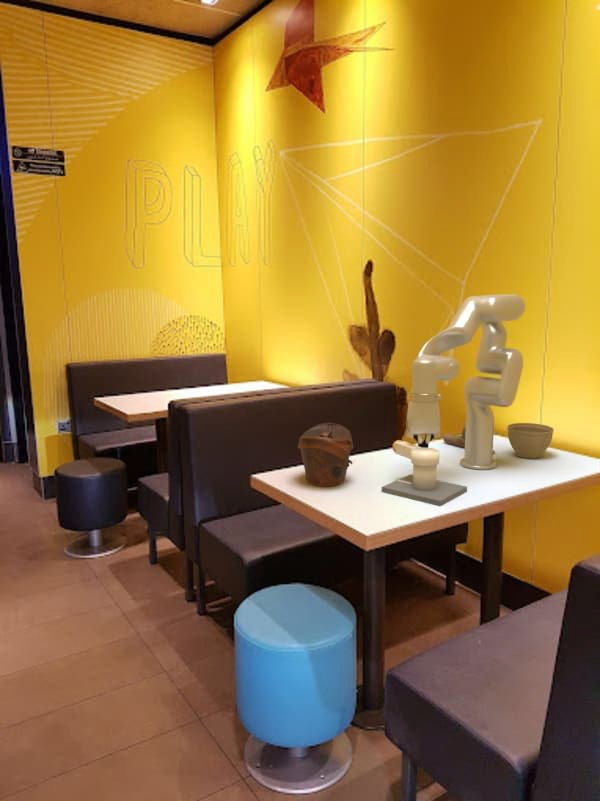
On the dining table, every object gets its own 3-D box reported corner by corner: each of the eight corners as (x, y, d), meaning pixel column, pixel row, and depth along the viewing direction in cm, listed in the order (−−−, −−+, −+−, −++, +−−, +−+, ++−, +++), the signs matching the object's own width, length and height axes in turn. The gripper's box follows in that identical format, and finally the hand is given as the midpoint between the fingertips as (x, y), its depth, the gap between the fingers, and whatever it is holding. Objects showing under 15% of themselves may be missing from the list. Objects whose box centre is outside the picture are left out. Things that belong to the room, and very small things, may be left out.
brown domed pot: (312, 493, 182) (312, 436, 179) (289, 476, 200) (289, 423, 198) (364, 487, 189) (365, 431, 186) (336, 470, 207) (337, 420, 204)
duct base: (410, 478, 196) (410, 452, 195) (466, 491, 183) (468, 463, 182) (381, 491, 184) (381, 463, 182) (440, 506, 171) (441, 475, 169)
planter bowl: (497, 455, 224) (499, 427, 222) (519, 448, 235) (520, 421, 233) (539, 464, 212) (540, 434, 210) (559, 455, 223) (561, 427, 221)
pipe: (449, 441, 246) (450, 417, 244) (481, 449, 232) (483, 424, 231) (438, 443, 243) (439, 419, 241) (470, 452, 229) (471, 426, 227)
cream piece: (444, 465, 180) (445, 451, 179) (422, 468, 176) (422, 454, 176) (408, 451, 196) (408, 438, 195) (387, 454, 192) (387, 441, 192)
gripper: (445, 395, 189) (443, 451, 193) (398, 396, 189) (397, 452, 193) (450, 399, 182) (449, 457, 185) (402, 400, 182) (401, 458, 185)
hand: (423, 454), depth 189 cm, fingers closed
